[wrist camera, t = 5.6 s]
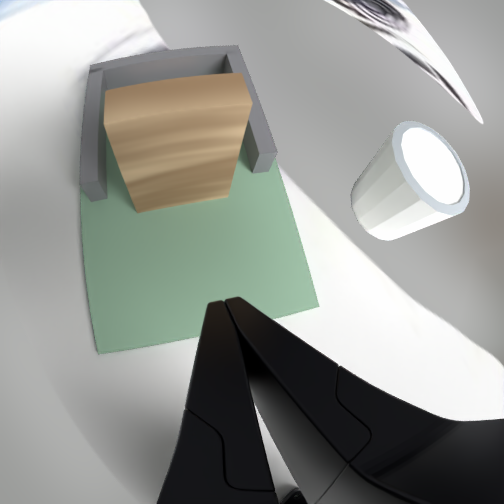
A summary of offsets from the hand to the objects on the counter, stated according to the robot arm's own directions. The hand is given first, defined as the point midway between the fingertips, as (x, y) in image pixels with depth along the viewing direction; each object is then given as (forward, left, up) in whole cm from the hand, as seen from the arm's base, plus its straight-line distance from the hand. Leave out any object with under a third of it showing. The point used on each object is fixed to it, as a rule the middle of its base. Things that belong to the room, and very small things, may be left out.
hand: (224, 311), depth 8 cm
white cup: (-5, -15, -11) cm, 19 cm away
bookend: (+10, -8, -10) cm, 17 cm away
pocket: (+12, -10, -10) cm, 18 cm away
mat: (+8, -7, -11) cm, 15 cm away
